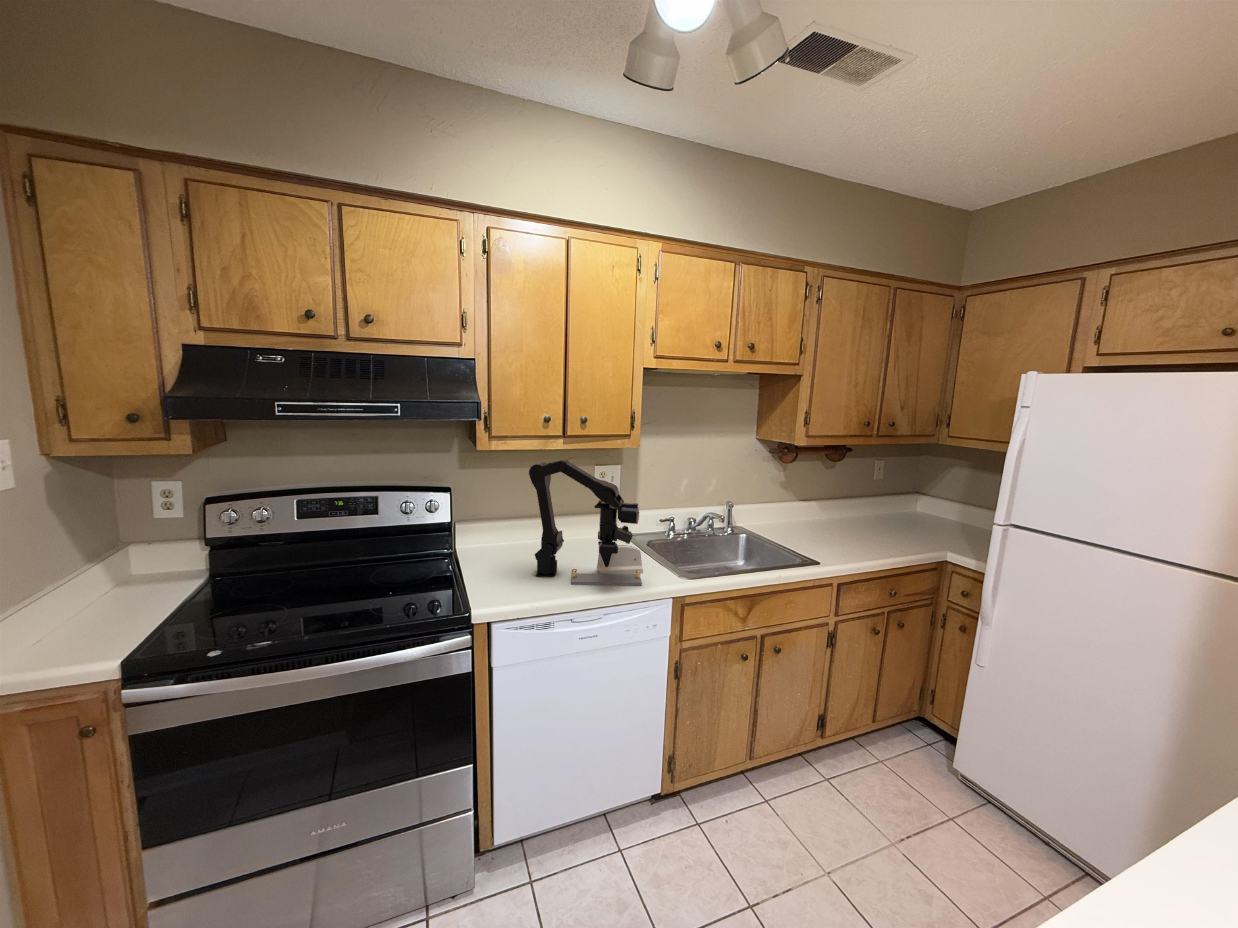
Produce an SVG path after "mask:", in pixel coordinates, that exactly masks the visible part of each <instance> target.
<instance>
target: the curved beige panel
mask: <svg viewBox="0 0 1238 928" xmlns="http://www.w3.org/2000/svg"><path fill="white" fill-rule="evenodd" d="M617 545H618V553H617V554H612V555H611V559H610V563H609V566H608V567H605V565H604V562H603V560H602V557H601V554H600V553H599V552H598V558H597V564H596V570H597V571H598V574H636V570H640V575H641V574H644V571H643V570H644V569H643V560H642V552H641V550H640V549H639V547H635V546H632V545H628V544H627V545H626V544H625V545H624V544H617Z"/></svg>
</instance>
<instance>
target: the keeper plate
mask: <svg viewBox="0 0 1238 928" xmlns="http://www.w3.org/2000/svg"><path fill="white" fill-rule="evenodd" d="M577 570H578V569H577V568H572V569H571V575H570V576H571V577H570V585H571V586H607V587H609V586H611V587H612V586H614V587H617V586H618V587H619V586H622V587H643V583H642V578H641V574H640V570H636V574H599V573H597V572H596V573H595V572H594V573H590V572H589V573H587V572H584V573H583V572H580V573H579V572H578V571H577Z"/></svg>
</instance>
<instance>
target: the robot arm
mask: <svg viewBox="0 0 1238 928" xmlns="http://www.w3.org/2000/svg"><path fill="white" fill-rule="evenodd" d="M559 473H561V474H563V475H565V476H566V477H569V478H570V479H572V480H574V481H576V482H577V483H578V484H580V485H582V486H584V487H585V488H587V489H589V491H591V492H592V493H593V494H594V496H595V497H596V498H598V502H597V503H596V504H595V505H594V506H593V507H594V509H599V523H598V524H599V525H598V526H599V530H598V532H597V540H599V541H598V543H597V545H598V554H599V553H600V554H601V557H602V560H603V562H604V565H605V567H608V566H609V563H610V559H611V555H612V554H617V553H618V545H619V544H618V543H617V542H618V541H621V542H623V543H626V544H627V545H630V543H631V542H632V539H633V536H634V534H633V533H632V531H631V530H629V526H627V525H626V524H633V525H634V524H635V525H638V524H639V520H640V509H639V503H637V502H635V503H630V502H629V503H628V502H625V501H624V499H623V497H622V496H621V495H620V490H619V487H618V486H617V485H615V483H611V482H609V481H606V480H603V479H599V478H596V477H595V476H593V475H592V474H591V473H588V472H587V471H585V470H584V469H581V467H578V466H576V465H575V464H574V463H571V462H570V461H569V460H568V459H566V458H564V459H559V460H556V461H553V462H549V463H547V462H545V461H544V462H543V461H542V462H538V463H536V464H533V465H531V466H530V468H529V469H528V475H529V476H528V477H529V478H530V481H531V484H532V486H533V488H534V489H535V490H536V495H537V503H538V508H539V515H540V521H541V526H542V534H541V541H540V543H541V544H540V547H541V548H540V549H539V550H537V552H535V553H534V557H535V561H536V574H535V576H536V577H540V578H541V577H547V578H548V577H549V578H551V577H555V576H556V574H557V573H558V559H556V557H557V556H556V555H557V553H558V552H559V551H560V549H562V547H563V545H564V544H563V543H565V540H564V536H563V530H558V527H556V520H555V516H554V507H553V502H552V497H551V489H550V487H551V480H552V475H555V474H559ZM617 520H618V521H619V522H620V523H621V524H623V523H624V524H625V525H622V526H621V527H618V521H617Z"/></svg>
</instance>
